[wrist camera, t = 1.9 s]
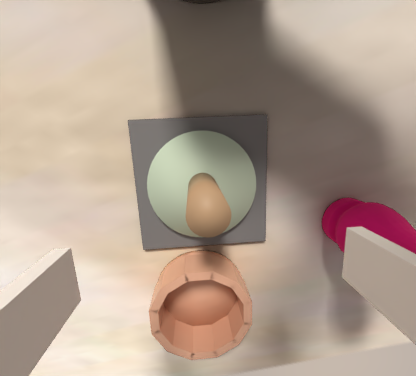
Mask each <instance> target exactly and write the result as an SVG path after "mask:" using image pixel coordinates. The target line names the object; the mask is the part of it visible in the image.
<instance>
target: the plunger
mask: <svg viewBox="0 0 416 376" xmlns="http://www.w3.org/2000/svg"><path fill="white" fill-rule="evenodd" d="M147 191H148V197H149V200H150V203H151V205H152V207H153V210H154V211H155V213H156V214H157V216H158V217H159V218H160V219H161V220H162V221H163V222H164V223H165V224H166V225H167V226H168V227H170V228H171V229H173V230H175V231H177V232H178V233H181V234H184V235H187V236H191V237H215V236H217V235H220V234H221V233H224V232H226V231H228V230H230V229H231V228H233V227H234V226H236V225H237V224H238V223H239V222H240V221H241V220H242V219H243V218H244V217H245V215H246V214H247V212H248V211H249V209H250V207H251V205H252V203H253V200H254V197H255V192H256V175H255V170H254V167H253V164H252V162H251V160H250V158H249V156H248V155H247V153H246V152H245V150H244V149H243V148H242V147H241V146H240V145H239V144H238V143H236V142H235V141H234V140H232V139H231V138H229V137H227V136H225V135H223V134H220V133H217V132H212V131H191V132H187V133H184V134H182V135H179V136H177V137H175V138H173V139H172V140H170V141H169V142H168V143H166V144H165V145H164V146H163V147H162V148H161V149H160V150H159V152H158V153H157V154H156V156H155V158H154V159H153V161H152V163H151V166H150V168H149V173H148V178H147Z"/></svg>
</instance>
